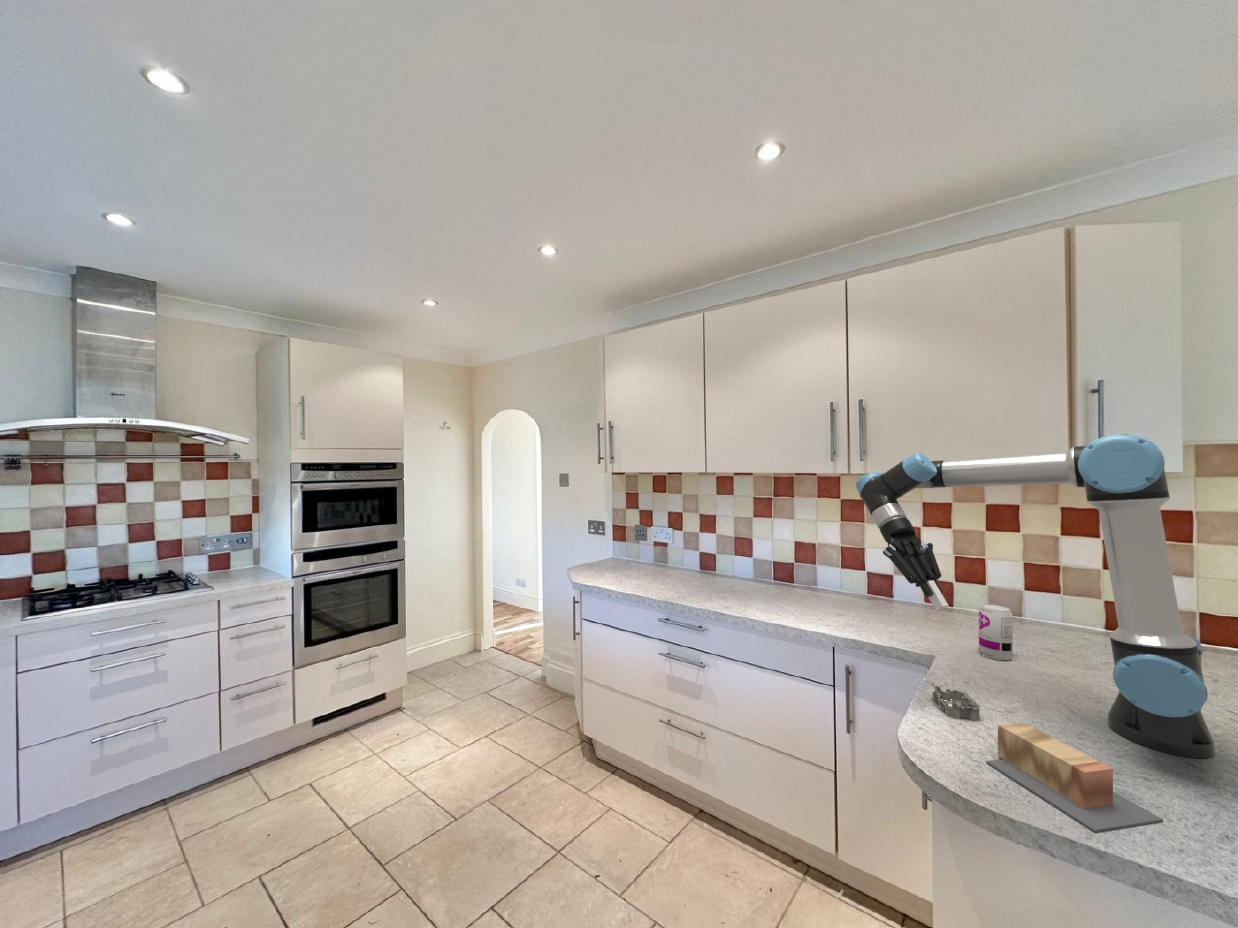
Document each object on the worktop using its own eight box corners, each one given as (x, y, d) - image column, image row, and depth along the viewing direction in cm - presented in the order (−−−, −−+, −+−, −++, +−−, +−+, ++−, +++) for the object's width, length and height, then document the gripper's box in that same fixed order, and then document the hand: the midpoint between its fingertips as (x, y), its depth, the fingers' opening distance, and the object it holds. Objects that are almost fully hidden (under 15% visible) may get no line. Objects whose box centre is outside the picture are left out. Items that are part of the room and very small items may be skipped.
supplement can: (984, 659, 145) (984, 609, 145) (974, 649, 153) (975, 602, 153) (1017, 663, 142) (1017, 612, 143) (1005, 653, 150) (1006, 605, 150)
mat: (986, 762, 93) (986, 760, 93) (1044, 755, 95) (1044, 753, 95) (1094, 832, 75) (1094, 829, 75) (1162, 821, 78) (1162, 818, 78)
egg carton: (929, 697, 120) (929, 681, 120) (963, 701, 118) (963, 685, 118) (946, 718, 110) (946, 700, 110) (984, 723, 108) (984, 705, 108)
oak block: (997, 724, 95) (1084, 772, 80) (1022, 722, 96) (1113, 768, 81) (997, 755, 95) (1084, 808, 80) (1022, 752, 96) (1112, 804, 81)
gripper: (908, 530, 132) (958, 612, 116) (864, 533, 130) (908, 617, 115) (923, 514, 126) (977, 598, 111) (877, 518, 124) (925, 604, 109)
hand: (942, 608), depth 113 cm, fingers closed
